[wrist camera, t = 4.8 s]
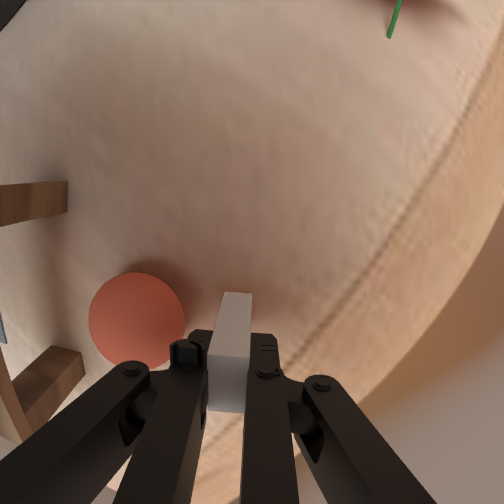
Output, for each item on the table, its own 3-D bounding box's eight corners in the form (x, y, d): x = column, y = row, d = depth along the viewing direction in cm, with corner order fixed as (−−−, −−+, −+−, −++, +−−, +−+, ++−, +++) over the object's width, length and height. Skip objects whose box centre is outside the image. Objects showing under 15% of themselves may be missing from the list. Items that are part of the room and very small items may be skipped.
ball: (199, 279, 15) (158, 256, 19) (89, 302, 12) (75, 270, 16) (206, 371, 16) (166, 332, 20) (113, 401, 13) (91, 351, 17)
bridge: (56, 366, 20) (-6, 432, 11) (35, 182, 17) (-66, 192, 8) (85, 374, 20) (26, 449, 11) (67, 181, 17) (-39, 189, 8)
